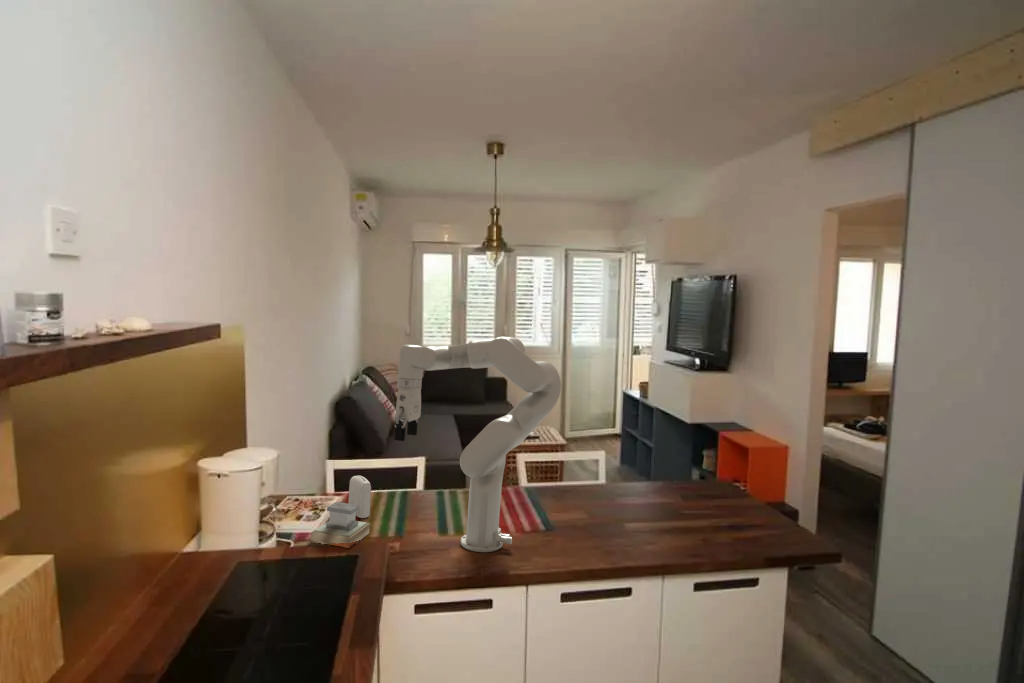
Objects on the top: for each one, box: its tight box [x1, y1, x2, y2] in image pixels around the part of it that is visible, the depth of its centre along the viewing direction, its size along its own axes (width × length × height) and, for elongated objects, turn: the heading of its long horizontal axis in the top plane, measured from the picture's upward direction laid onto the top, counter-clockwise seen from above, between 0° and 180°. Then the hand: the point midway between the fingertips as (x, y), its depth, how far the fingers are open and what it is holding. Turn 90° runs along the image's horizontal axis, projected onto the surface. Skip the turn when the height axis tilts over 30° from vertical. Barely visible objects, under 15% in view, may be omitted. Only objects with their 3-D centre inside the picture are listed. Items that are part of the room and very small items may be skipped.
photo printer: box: [348, 475, 372, 519], centre depth 176 cm, size 10×4×12 cm, turn 39°
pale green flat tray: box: [310, 520, 371, 545], centre depth 156 cm, size 12×12×3 cm
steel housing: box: [325, 501, 359, 531], centre depth 156 cm, size 8×5×6 cm, turn 78°
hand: (405, 437), depth 167 cm, fingers open, 9 cm apart
